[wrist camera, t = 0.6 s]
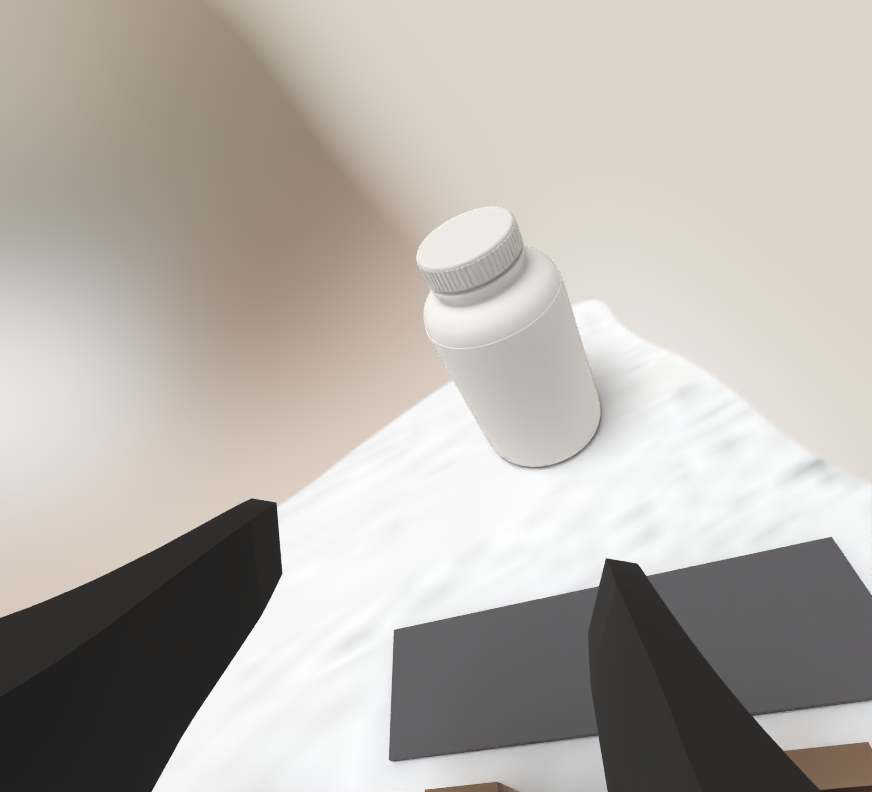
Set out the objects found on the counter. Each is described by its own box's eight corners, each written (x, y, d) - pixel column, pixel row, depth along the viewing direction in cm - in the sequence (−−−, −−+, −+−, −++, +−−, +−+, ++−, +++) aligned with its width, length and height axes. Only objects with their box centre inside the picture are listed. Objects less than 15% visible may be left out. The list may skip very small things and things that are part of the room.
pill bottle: (629, 431, 30) (568, 217, 21) (514, 491, 31) (406, 311, 21) (569, 363, 36) (502, 174, 27) (475, 414, 37) (377, 248, 27)
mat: (933, 692, 17) (935, 689, 17) (393, 761, 23) (389, 759, 23) (830, 541, 22) (831, 536, 22) (397, 632, 28) (393, 630, 28)
